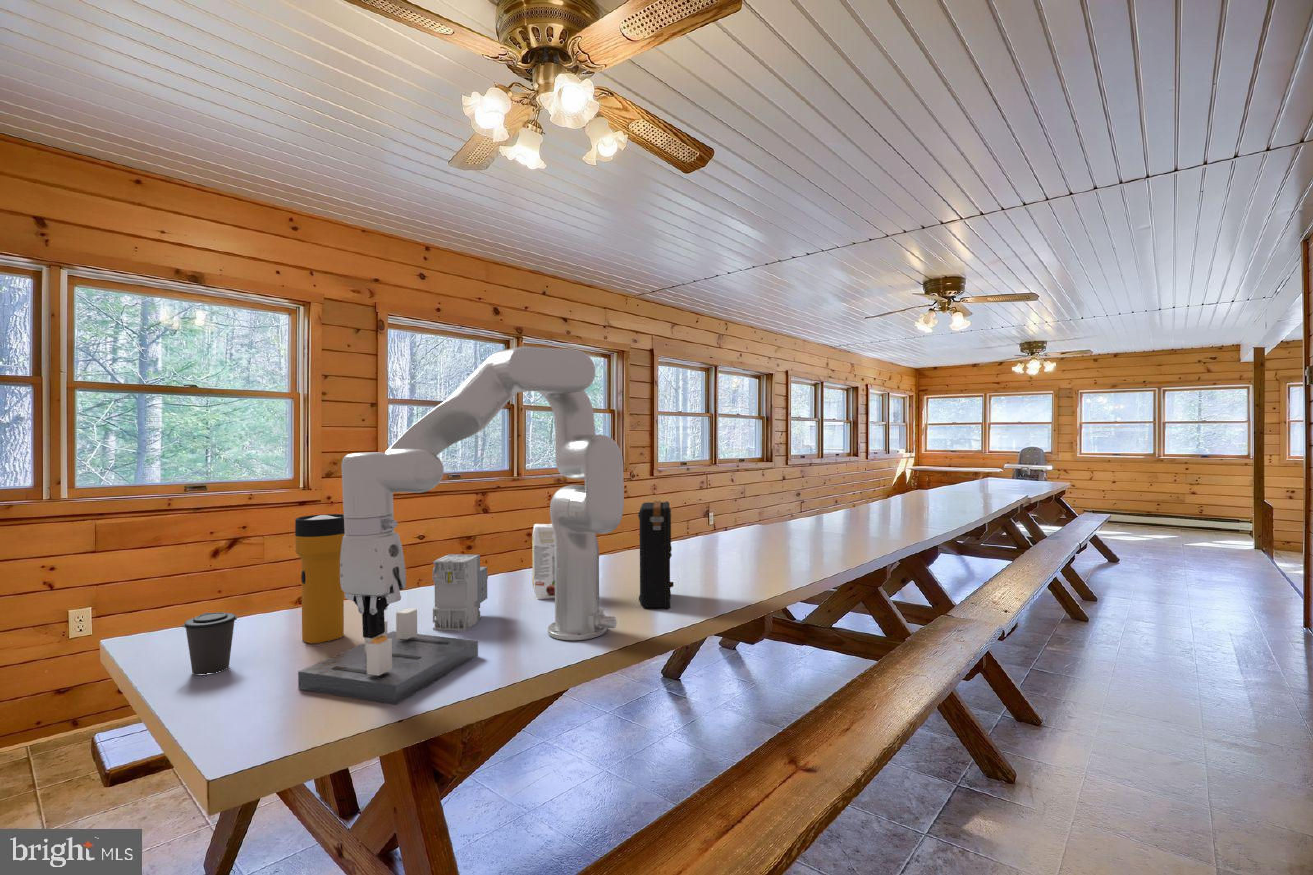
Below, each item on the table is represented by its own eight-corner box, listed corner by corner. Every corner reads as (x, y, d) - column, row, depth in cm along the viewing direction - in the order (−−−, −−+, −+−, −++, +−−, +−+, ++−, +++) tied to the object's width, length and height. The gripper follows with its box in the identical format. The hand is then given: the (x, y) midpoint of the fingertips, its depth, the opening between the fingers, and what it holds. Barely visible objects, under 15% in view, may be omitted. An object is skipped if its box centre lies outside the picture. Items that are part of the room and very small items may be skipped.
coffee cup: (206, 661, 115) (206, 608, 115) (248, 661, 114) (247, 608, 114) (170, 678, 106) (170, 621, 106) (215, 678, 106) (215, 621, 106)
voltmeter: (674, 610, 147) (673, 507, 147) (638, 610, 147) (637, 507, 147) (673, 593, 162) (672, 500, 162) (640, 593, 162) (640, 500, 162)
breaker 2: (417, 634, 119) (417, 609, 119) (406, 639, 116) (406, 613, 116) (407, 633, 120) (407, 608, 120) (396, 638, 117) (396, 612, 117)
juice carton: (567, 598, 158) (567, 525, 158) (534, 600, 156) (533, 527, 156) (563, 591, 165) (563, 521, 165) (531, 593, 163) (531, 523, 163)
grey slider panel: (477, 656, 116) (477, 640, 116) (396, 704, 95) (395, 684, 95) (392, 646, 122) (392, 630, 122) (298, 689, 101) (298, 670, 101)
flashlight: (356, 514, 128) (304, 519, 121) (357, 637, 128) (305, 649, 121) (338, 511, 135) (288, 515, 128) (339, 627, 135) (289, 638, 128)
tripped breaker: (392, 668, 101) (391, 635, 101) (378, 675, 98) (378, 641, 98) (380, 667, 102) (380, 634, 102) (366, 674, 99) (366, 639, 99)
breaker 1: (387, 648, 111) (387, 621, 111) (375, 653, 108) (375, 625, 108) (377, 646, 112) (376, 619, 112) (364, 652, 109) (364, 624, 109)
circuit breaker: (490, 611, 146) (489, 549, 146) (465, 630, 132) (465, 561, 132) (460, 611, 147) (459, 549, 147) (432, 629, 133) (432, 561, 133)
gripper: (421, 523, 102) (426, 631, 103) (351, 521, 107) (356, 624, 107) (389, 531, 95) (394, 647, 95) (315, 529, 100) (320, 639, 100)
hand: (374, 635), depth 101 cm, fingers closed
